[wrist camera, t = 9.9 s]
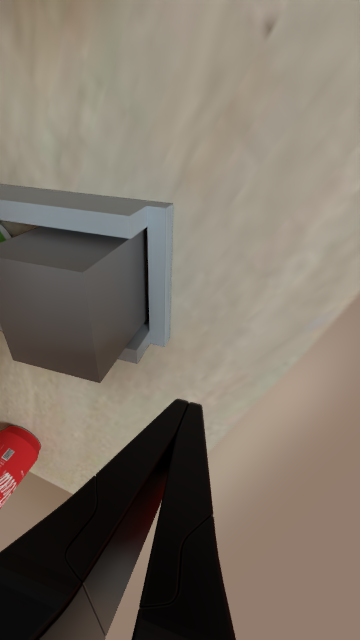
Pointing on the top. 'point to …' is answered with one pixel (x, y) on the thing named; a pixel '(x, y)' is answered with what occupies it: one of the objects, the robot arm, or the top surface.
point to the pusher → (71, 298)
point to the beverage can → (15, 458)
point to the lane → (112, 221)
